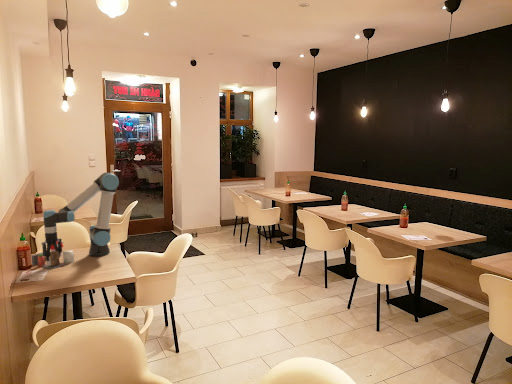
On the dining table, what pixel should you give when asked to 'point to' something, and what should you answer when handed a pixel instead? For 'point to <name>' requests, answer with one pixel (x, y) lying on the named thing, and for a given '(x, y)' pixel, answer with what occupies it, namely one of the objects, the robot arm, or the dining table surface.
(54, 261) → the walnut block
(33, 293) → the dining table surface
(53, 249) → the mushroom
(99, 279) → the dining table surface
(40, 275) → the dining table surface
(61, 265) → the slate coaster
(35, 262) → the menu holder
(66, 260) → the beige rounded block
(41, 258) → the sauce shaker
